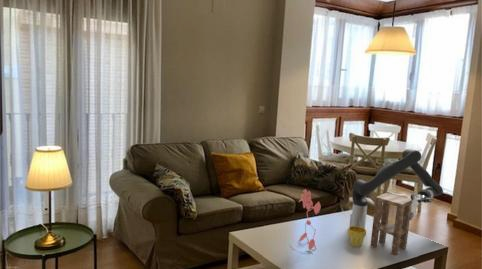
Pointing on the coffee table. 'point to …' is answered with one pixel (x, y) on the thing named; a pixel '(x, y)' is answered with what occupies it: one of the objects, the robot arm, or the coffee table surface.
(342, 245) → the coffee table surface
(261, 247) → the coffee table surface
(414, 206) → the brushed grey block
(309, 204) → the figurine
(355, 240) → the plant pot
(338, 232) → the coffee table surface
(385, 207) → the walnut stand
